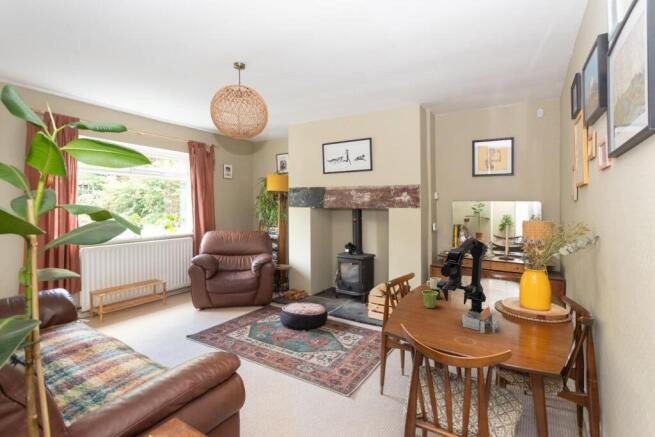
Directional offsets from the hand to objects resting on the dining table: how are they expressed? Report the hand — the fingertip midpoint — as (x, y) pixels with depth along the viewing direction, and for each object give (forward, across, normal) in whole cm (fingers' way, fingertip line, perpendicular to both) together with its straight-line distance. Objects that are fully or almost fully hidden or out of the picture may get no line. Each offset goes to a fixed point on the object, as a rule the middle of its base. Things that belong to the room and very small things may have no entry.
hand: (455, 302), depth 175 cm
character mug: (+10, -25, +32) cm, 42 cm away
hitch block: (+10, +13, 0) cm, 16 cm away
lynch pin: (+10, +10, 0) cm, 14 cm away
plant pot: (+10, -20, +14) cm, 27 cm away
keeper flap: (+3, +16, 0) cm, 16 cm away
